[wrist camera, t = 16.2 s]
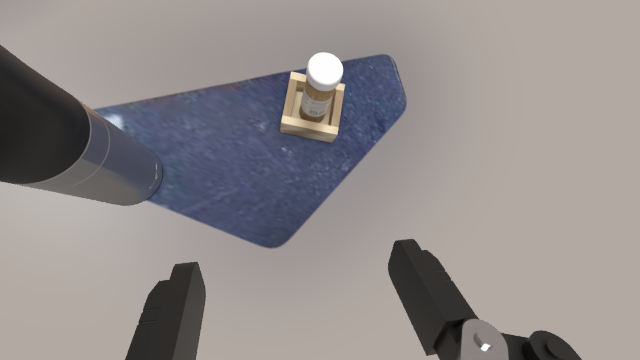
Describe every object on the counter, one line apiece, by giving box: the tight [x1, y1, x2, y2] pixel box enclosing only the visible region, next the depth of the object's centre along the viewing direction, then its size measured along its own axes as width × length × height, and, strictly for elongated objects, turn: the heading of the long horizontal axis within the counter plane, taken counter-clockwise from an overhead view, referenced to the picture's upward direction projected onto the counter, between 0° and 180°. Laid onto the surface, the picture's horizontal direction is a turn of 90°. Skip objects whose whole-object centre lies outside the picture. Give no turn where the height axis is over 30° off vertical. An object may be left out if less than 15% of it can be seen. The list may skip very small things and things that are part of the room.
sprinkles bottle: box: [299, 53, 343, 123], centre depth 41 cm, size 5×5×13 cm
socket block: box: [280, 72, 345, 143], centre depth 46 cm, size 9×9×4 cm
